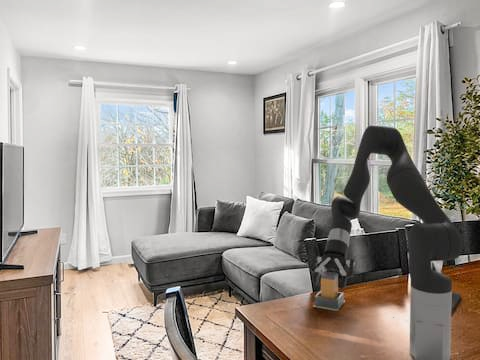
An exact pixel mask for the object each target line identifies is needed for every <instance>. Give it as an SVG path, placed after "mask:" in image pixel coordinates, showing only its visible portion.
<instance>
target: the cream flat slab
mask: <svg viewBox="0 0 480 360" xmlns="http://www.w3.org/2000/svg"><path fill="white" fill-rule="evenodd" d="M345 302H346V300H345V299H344V302H343V303H342V305H341V306H340V307H339V309H332V308H327V307H321V306H315V304H313V306H312V307H314V308H317V309H318V308H319V309H325V310H331V311H337V312H338V311H339V310H340V308H341V307H342V306H343V304H345Z"/></svg>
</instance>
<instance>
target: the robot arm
mask: <svg viewBox="0 0 480 360" xmlns="http://www.w3.org/2000/svg"><path fill="white" fill-rule="evenodd" d="M359 143H360V144H359V147H358V149H357V152H356V155H355V156H356V157H355V160H354V163H353V164H354V165H353V167H352V170H351V173H350V176H349V177H348V179H347V182H346V184H345V187H344V189H343V195H344V196H341V195H340V196H339V195H338V196H336V197H334V199H332V201H331V205H330V208H331V219H332V221H331V227H330V231H329V234H328V236H327V240H326V244H325V247H324V252H323V255H322V256H318V254H314V256H313V259H312V261H311V263H310V267H309V269H310V272H311V274H313V277H312V278H313V279H312V282H313V284H314V285H315V286H318V285H319V280H320V278H321V274H322V273H323V272H324V271H328V272H336V273H338V272H339V273H340V275H341V278H340V282H339V283H340V284H339V288H340V290H344V289H345V288H346V285H347V280H348V279H354V276H355V266H356V263H355V260H354V258H351V259H347V256H348V255H347V254H348V250H349V246H350V240H351V232H352V228H353V227H352V226H353V224H352V221H351V220H355V219H357V218H359V215H360V212H361V205H362V201H363V197H364V195H365V193H366V191H367V189H368V187H369V185H370V181H371V175H370V171H369V166H368V165H369V164H368V160H369V158H370V156H371V154H375V155H382V156H384V155H385V156H387V158H389V159H390V161H391V164H390V167H389V168H388V170H387V174H386V184H387V186H388V189H389V190H390V193H391V195H392V197H393V198H394V199H395V201H396V202H397V203H398V204H400V205H401V206H402V207H403V208H405V209H406V210H408V211H409V212H410V213H412V214H414V215H415V216H416V217H418V218H419V219H420V220H421V221H422V223H421V222H420V223H414V224H412V225H411V227H410V228H409V230H408V236H407V237H408V239H407V241H408V243H407V245H408V247H407V248H408V269H409V270H408V271H409V277H410V300H409V301H410V303H409V305H410V306H409V307H410V308H409V311H410V312H409V353H410V355H411V356H412V357H413V358H414V360H451V347H452V345H451V341H452V338H451V337H452V335H451V334H452V314H451V302H452V293H453V292H452V291H453V281H452V279H451V277H449V276H448V275H447V274H444V273H442V272H441V273H439V272H436V271H433V270H432V268H431V261H445V262H447V261H453V260H456V259H458V258H459V257H460V256H461V255H462V251H463V243H462V238H461V236H460V233H459V231H458V230H457V228H456V226H455V224H454V223H453V222H452V221H451V219H450V218H449V217H448V215H447V214H446V213H445V211H444V210H443V209H442V208H441V206H440V205H439V203H438V202H437V200H436V199H435V197H434V195H433V194H432V192H431V191H430V189H429V187H428V186H427V183H426V180H425V179H424V178H423V175H421V173H420V171H419V170H418V168H417V165H415V163H414V161H413V159H412V157H411V155H410V153H409V151H408V149H407V146H406V144H405V141H404V139H403V136H402V134H401V132H400V131H399V129H397V128H395V127H393V126H389V125H388V126H387V125H381V124H370V125H368V126H367V127H366V128H365V130H364V132H363V134H362V136H361V139H360V142H359ZM318 264H319V265H318ZM346 265H347V267H348V272H346V270H345V269H344V267H346Z"/></svg>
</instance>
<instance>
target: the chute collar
mask: <svg viewBox="0 0 480 360" xmlns="http://www.w3.org/2000/svg"><path fill="white" fill-rule="evenodd" d="M344 300H345V292H342V291H341V292H340V291H338V298H337V299H332V298H325V297H321V289H320V290H319V291H318V292H317V294H316V295H315V296H314V305H315V306H321V307H327V308H332V309H339V310H340V308H341V307H342V306H343V304H344V303H345V302H344ZM343 302H344V303H343ZM342 303H343V304H342ZM341 305H342V306H341ZM340 306H341V307H340ZM339 307H340V308H339Z"/></svg>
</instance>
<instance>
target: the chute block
mask: <svg viewBox="0 0 480 360" xmlns="http://www.w3.org/2000/svg"><path fill="white" fill-rule="evenodd" d="M320 290H321V297H325V298H332V299H337V298H338V292H339V273H338V272H335V271H328V270H326V271H324V272H322V273H321V274H320Z"/></svg>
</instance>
